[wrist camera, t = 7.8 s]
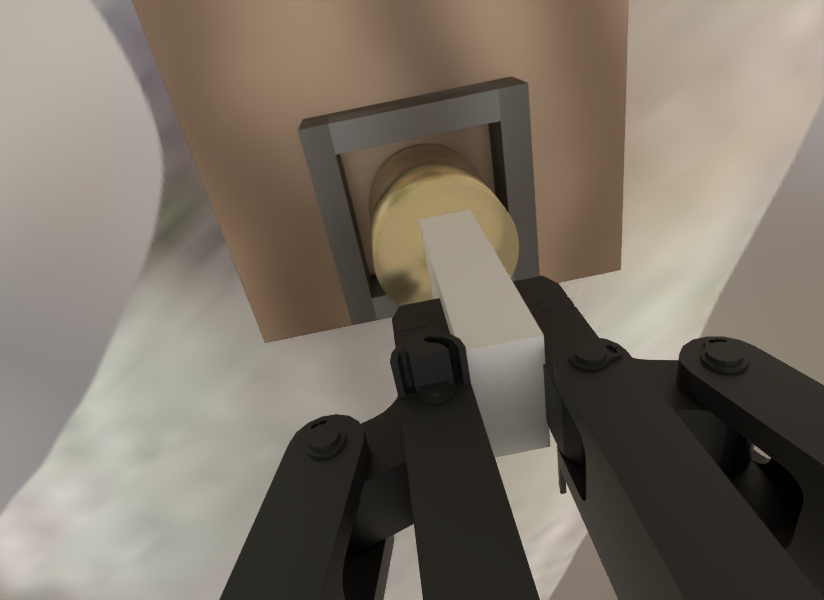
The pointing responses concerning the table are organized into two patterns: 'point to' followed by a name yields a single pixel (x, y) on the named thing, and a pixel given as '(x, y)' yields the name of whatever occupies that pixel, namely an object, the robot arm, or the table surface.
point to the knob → (428, 216)
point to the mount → (393, 131)
